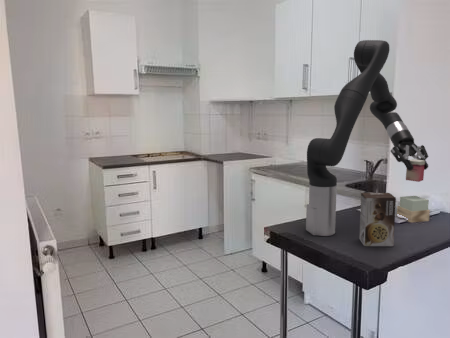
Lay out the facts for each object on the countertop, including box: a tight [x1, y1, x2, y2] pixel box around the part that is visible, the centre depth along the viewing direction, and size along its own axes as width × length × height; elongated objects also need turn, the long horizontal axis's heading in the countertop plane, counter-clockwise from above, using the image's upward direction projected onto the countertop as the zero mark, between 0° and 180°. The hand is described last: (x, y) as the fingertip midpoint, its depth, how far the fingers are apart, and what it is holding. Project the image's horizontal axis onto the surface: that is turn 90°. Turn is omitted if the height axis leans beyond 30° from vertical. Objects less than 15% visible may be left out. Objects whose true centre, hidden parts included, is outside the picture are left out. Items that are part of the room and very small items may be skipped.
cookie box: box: [358, 192, 397, 247], centre depth 114 cm, size 9×6×16 cm
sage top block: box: [398, 195, 430, 211], centre depth 138 cm, size 7×7×4 cm
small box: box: [405, 158, 425, 183], centre depth 136 cm, size 5×4×8 cm
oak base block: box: [396, 205, 431, 223], centre depth 139 cm, size 8×8×4 cm
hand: (418, 168), depth 135 cm, fingers closed on small box, 5 cm apart
